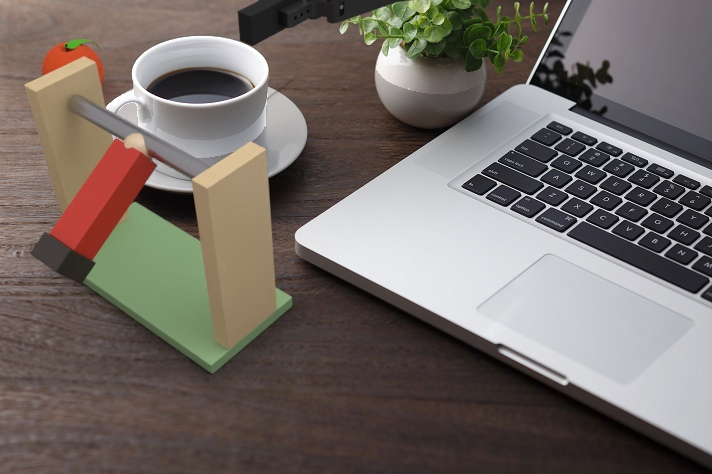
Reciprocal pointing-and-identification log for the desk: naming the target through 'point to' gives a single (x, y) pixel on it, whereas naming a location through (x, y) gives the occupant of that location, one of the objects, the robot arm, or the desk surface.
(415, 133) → the desk surface
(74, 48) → the clementine
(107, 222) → the pendulum
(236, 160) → the frame
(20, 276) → the desk surface
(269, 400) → the desk surface
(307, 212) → the desk surface
